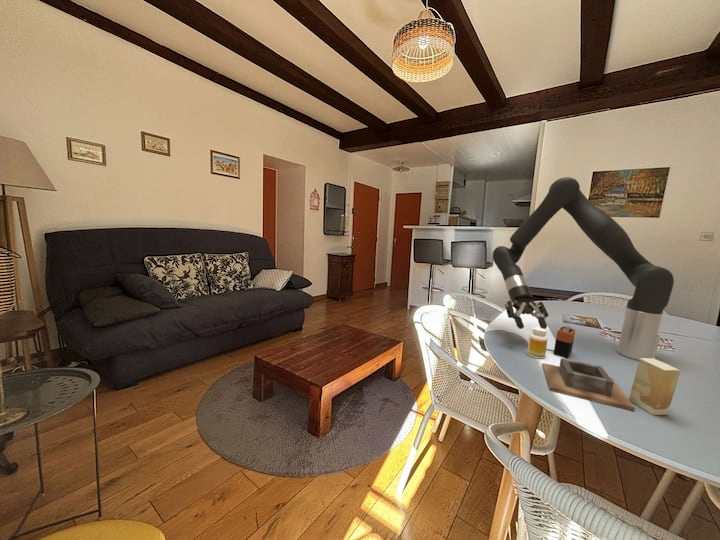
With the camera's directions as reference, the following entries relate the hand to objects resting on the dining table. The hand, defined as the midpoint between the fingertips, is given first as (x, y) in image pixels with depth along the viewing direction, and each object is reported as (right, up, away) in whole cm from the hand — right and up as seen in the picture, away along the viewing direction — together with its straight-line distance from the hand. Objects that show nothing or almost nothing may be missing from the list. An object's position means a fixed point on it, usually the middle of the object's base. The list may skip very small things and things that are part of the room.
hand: (533, 328), depth 103 cm
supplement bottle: (0, -9, -2) cm, 9 cm away
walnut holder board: (+2, -12, -20) cm, 24 cm away
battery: (+11, -10, +1) cm, 14 cm away
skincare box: (+12, -15, -29) cm, 35 cm away
